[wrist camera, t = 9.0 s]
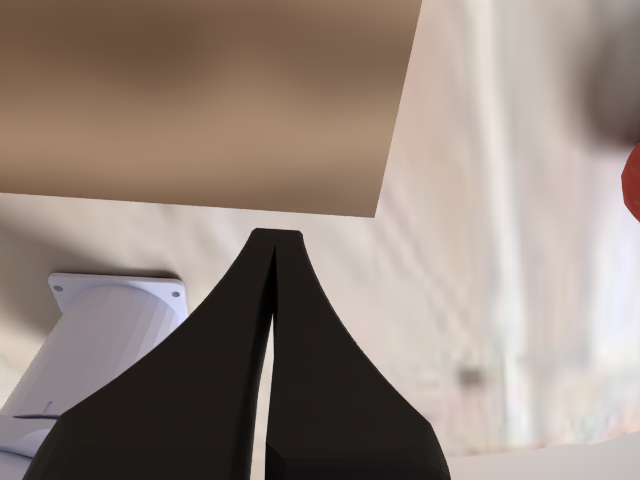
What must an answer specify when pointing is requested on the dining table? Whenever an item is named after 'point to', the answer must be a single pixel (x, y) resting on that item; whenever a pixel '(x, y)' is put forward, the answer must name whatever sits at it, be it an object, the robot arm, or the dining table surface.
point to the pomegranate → (632, 182)
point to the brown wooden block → (203, 100)
